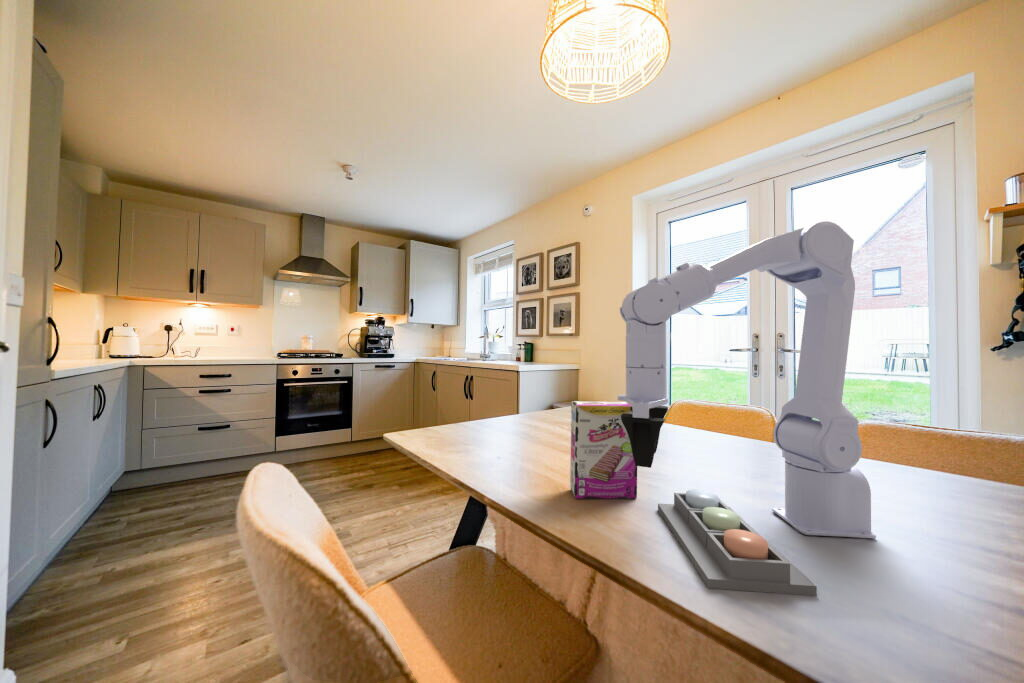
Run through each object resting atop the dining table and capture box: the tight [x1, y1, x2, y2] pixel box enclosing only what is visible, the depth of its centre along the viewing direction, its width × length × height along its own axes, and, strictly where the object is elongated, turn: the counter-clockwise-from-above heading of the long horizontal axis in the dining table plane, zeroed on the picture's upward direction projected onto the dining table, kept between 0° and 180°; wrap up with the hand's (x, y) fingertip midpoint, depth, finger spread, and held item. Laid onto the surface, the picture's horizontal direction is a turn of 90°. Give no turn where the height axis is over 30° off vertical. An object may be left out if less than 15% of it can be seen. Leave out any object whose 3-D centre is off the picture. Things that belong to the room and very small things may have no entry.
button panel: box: [657, 492, 818, 596], centre depth 51 cm, size 11×20×3 cm, turn 174°
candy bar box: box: [569, 400, 638, 499], centre depth 68 cm, size 11×5×16 cm, turn 92°
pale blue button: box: [685, 489, 719, 509], centre depth 57 cm, size 4×4×2 cm
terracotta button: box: [724, 529, 768, 560], centre depth 44 cm, size 4×4×2 cm
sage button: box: [703, 507, 741, 530], centre depth 51 cm, size 4×4×2 cm
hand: (646, 458), depth 56 cm, fingers open, 7 cm apart
